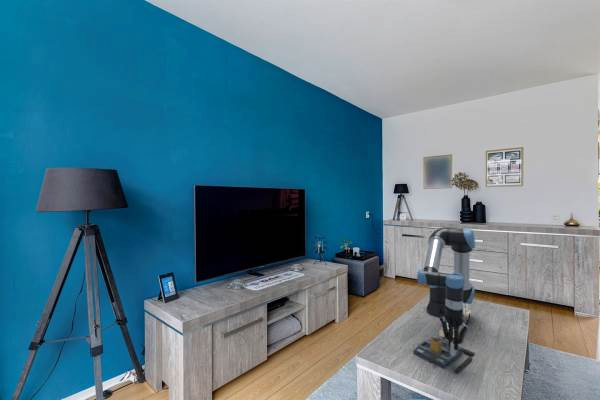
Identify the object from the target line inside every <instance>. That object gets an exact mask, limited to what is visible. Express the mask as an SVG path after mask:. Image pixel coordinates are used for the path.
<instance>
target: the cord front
mask: <svg viewBox="0 0 600 400" xmlns="http://www.w3.org/2000/svg"><path fill="white" fill-rule="evenodd" d="M437 338H438V339H440V340H442V341H445V342H447V340H445V339H443V338H441V337H437ZM459 348H461V351H462V354H465V355H468V356H469V357H471V358H473V357H474V356H475V352H474V351H472V350H469V349H467V348H465V347H462V346H459Z"/></svg>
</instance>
